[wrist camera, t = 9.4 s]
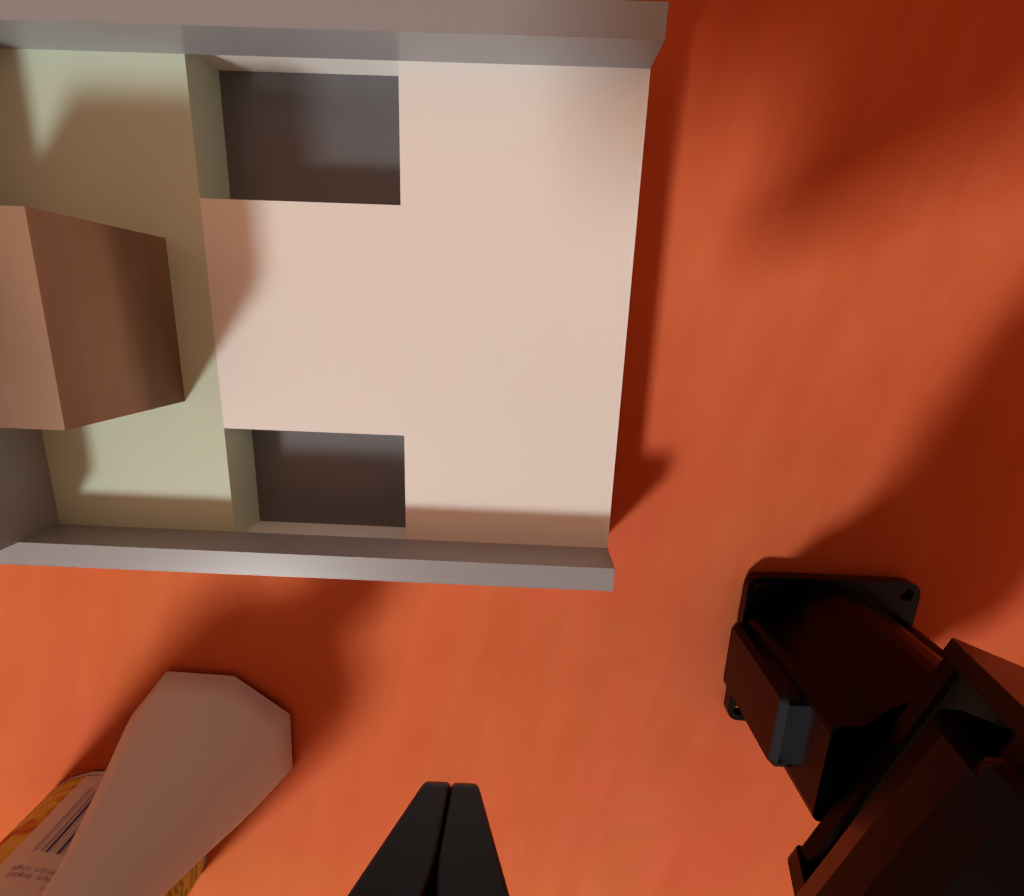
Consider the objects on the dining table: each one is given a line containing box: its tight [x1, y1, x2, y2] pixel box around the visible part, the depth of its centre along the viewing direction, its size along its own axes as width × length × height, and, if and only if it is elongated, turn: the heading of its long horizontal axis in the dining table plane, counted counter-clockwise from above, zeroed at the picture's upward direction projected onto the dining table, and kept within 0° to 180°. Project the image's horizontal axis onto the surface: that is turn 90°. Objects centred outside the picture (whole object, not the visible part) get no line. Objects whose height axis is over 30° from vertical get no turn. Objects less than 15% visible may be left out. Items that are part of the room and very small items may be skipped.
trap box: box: [0, 0, 669, 591], centre depth 16 cm, size 20×16×4 cm
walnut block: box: [0, 205, 185, 430], centre depth 14 cm, size 5×5×4 cm
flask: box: [41, 671, 293, 896], centre depth 18 cm, size 7×7×10 cm
